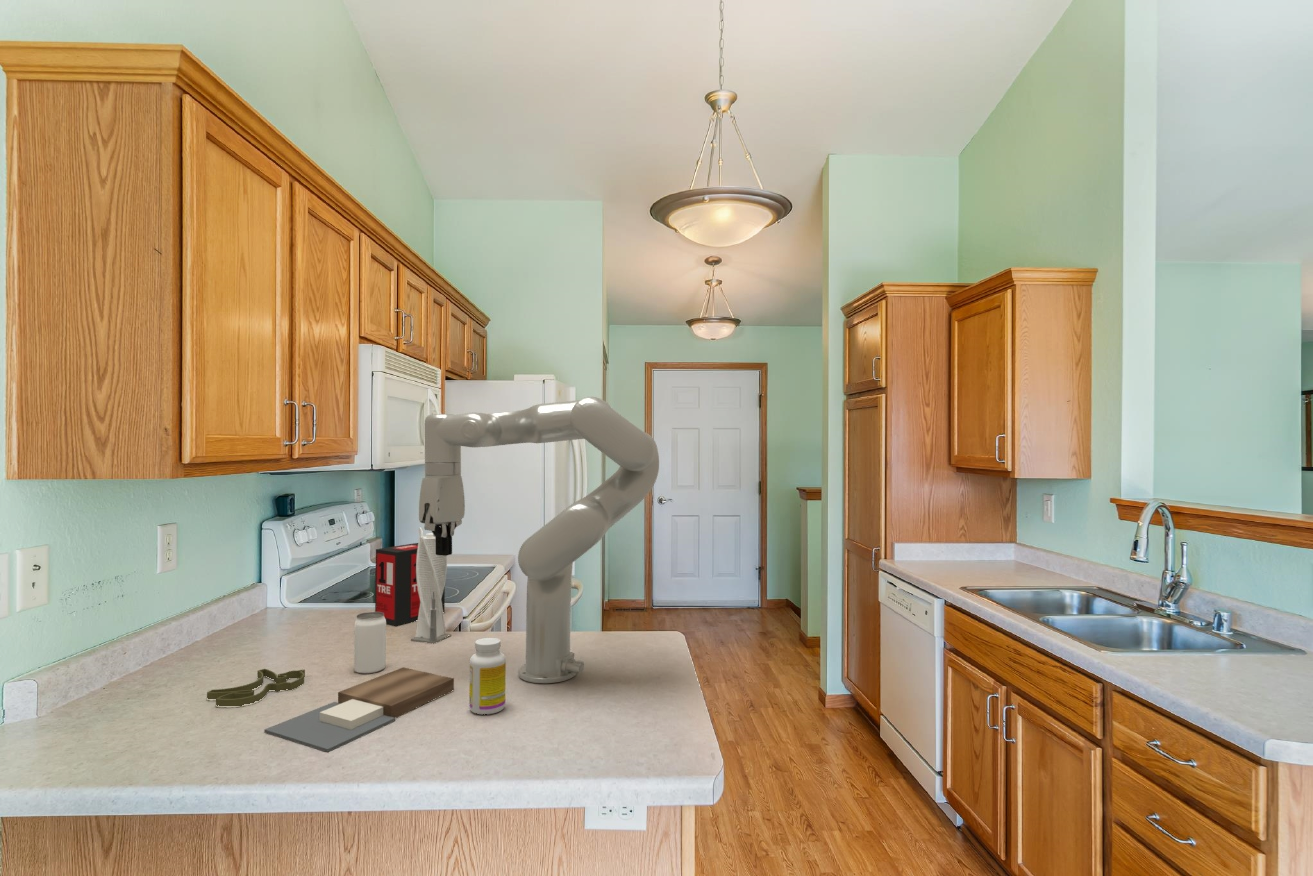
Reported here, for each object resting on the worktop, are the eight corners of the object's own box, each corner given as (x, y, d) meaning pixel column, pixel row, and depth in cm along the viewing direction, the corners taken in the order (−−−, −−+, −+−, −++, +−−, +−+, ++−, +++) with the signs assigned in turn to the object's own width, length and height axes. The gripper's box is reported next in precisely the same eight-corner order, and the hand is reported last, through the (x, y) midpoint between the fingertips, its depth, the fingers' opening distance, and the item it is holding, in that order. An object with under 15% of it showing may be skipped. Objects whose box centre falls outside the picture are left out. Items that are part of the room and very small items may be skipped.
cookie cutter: (269, 674, 148) (270, 665, 148) (317, 680, 145) (317, 671, 145) (195, 706, 130) (195, 696, 130) (247, 713, 127) (247, 703, 127)
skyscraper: (405, 640, 172) (407, 528, 172) (426, 631, 180) (427, 525, 180) (434, 643, 170) (435, 530, 170) (453, 634, 177) (455, 526, 177)
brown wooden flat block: (453, 690, 139) (453, 678, 139) (391, 719, 124) (391, 705, 124) (403, 679, 145) (403, 667, 145) (338, 705, 130) (338, 692, 130)
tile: (383, 715, 125) (383, 706, 125) (351, 729, 119) (351, 721, 119) (352, 707, 128) (352, 699, 128) (319, 720, 122) (319, 712, 122)
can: (374, 675, 147) (374, 619, 147) (347, 673, 148) (347, 617, 148) (391, 665, 153) (392, 612, 153) (365, 663, 154) (366, 610, 154)
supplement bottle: (512, 706, 131) (513, 639, 131) (487, 718, 125) (488, 648, 125) (486, 699, 134) (487, 634, 134) (461, 711, 129) (462, 642, 129)
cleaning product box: (423, 609, 203) (424, 541, 203) (444, 613, 198) (445, 544, 198) (375, 621, 189) (375, 549, 189) (396, 626, 184) (397, 552, 184)
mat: (395, 720, 124) (395, 717, 124) (327, 752, 111) (327, 749, 111) (334, 704, 131) (334, 701, 131) (264, 732, 118) (264, 729, 118)
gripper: (452, 469, 158) (453, 548, 158) (404, 472, 144) (405, 559, 144) (478, 469, 155) (479, 550, 155) (432, 472, 141) (433, 561, 141)
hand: (443, 554), depth 150 cm, fingers closed
